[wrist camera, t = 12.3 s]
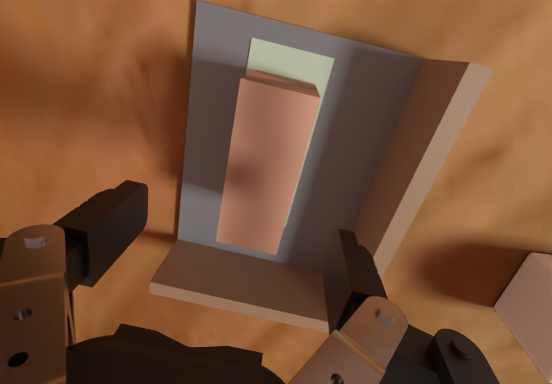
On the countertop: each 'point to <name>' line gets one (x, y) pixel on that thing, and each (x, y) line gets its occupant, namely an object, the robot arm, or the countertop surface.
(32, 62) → the countertop surface
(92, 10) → the countertop surface
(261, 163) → the block
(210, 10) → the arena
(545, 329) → the medicine bottle
